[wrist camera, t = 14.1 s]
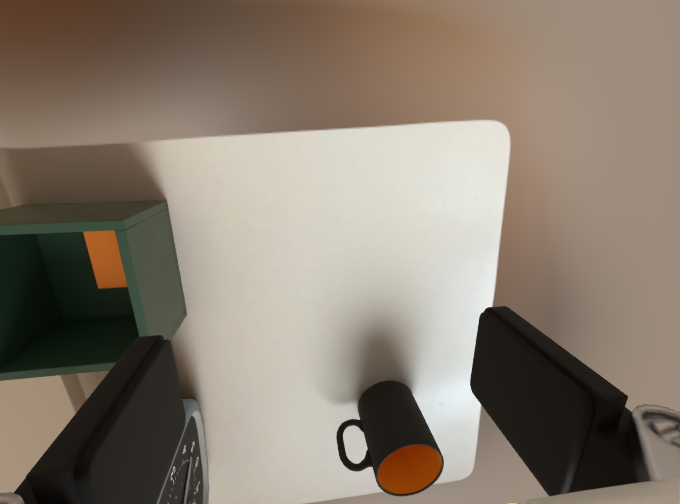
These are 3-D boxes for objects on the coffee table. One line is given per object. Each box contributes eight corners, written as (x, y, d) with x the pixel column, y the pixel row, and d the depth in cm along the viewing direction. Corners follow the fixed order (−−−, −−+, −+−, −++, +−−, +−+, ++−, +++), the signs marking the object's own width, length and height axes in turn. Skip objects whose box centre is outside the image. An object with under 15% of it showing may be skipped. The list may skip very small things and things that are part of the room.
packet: (116, 275, 35) (98, 288, 32) (103, 221, 33) (82, 229, 30) (159, 272, 36) (145, 285, 32) (148, 219, 34) (133, 227, 30)
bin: (22, 204, 32) (-82, 227, 23) (166, 200, 34) (122, 220, 25) (60, 324, 37) (-15, 382, 28) (187, 314, 38) (155, 366, 29)
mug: (329, 391, 45) (340, 459, 35) (411, 375, 46) (444, 436, 37) (335, 436, 48) (347, 510, 38) (413, 419, 49) (444, 487, 39)
